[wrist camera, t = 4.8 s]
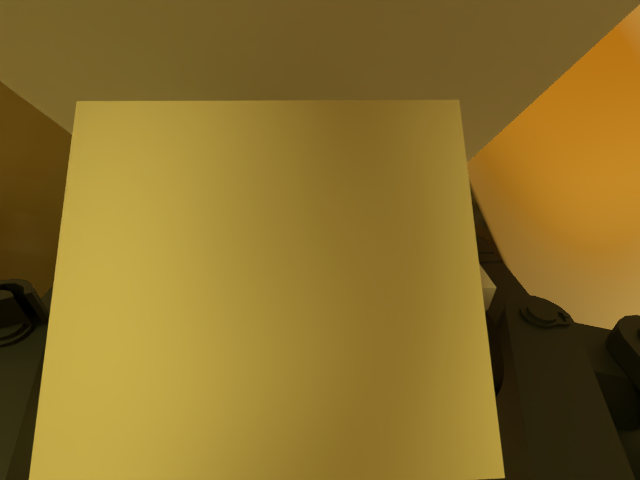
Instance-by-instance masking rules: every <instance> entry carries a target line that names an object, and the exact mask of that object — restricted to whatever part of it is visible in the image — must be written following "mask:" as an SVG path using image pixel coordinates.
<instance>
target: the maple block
mask: <svg viewBox="0 0 640 480" xmlns="http://www.w3.org/2000/svg"><path fill="white" fill-rule="evenodd" d="M498 478H505V474H504V466H503V457H502V449H501V441H500V433H499V424H498V416H497V408H496V400H495V391H494V383H493V375H492V367H491V358H490V350H489V342H488V333H487V325H486V317H485V309H484V300H483V292H482V284H481V276H480V267H479V259H478V251H477V243H476V234H475V226H474V218H473V210H472V201H471V193H470V185H469V176H468V169H467V160H466V152H465V143H464V135H463V127H462V119H461V110H460V102H459V100H257V101H77V102H76V110H75V118H74V126H73V134H72V142H71V150H70V157H69V165H68V173H67V181H66V189H65V197H64V205H63V213H62V221H61V229H60V237H59V245H58V253H57V260H56V268H55V276H54V284H53V292H52V300H51V308H50V316H49V324H48V332H47V340H46V348H45V356H44V363H43V371H42V379H41V387H40V395H39V403H38V411H37V419H36V427H35V435H34V443H33V451H32V458H31V466H30V474H29V480H478V479H498Z"/></svg>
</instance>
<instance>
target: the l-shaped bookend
mask: <svg viewBox="0 0 640 480" xmlns="http://www.w3.org/2000/svg"><path fill="white" fill-rule="evenodd" d="M639 4H640V0H0V82H2V83H3V84H5V85H6V86H7V87H9V88H10V89H11V90H13V91H14V92H15V93H17V94H18V95H19V96H21V97H22V98H23V99H25V100H26V101H27V102H29V103H30V104H32V105H33V106H34V107H36V108H37V109H38V110H40V111H41V112H42V113H44V114H45V115H46V116H48V117H49V118H50V119H52V120H53V121H55V122H56V123H57V124H59V125H60V126H61V127H63V128H64V129H65V130H67V131H68V132H69V133H71V134H73V126H74V118H75V110H76V102H77V101H257V100H459V102H460V110H461V119H462V127H463V135H464V143H465V152H466V160H467V162H468V161H469V160H470V159H471V158H472V157H474V156H475V155H476V154H477V153H478V152H479V151H480V150H481V149H482V148H483V147H484V146H485V145H487V144H488V143H489V142H490V141H491V140H492V139H493V138H494V137H495V136H496V135H498V134H499V133H500V132H501V131H502V130H503V129H504V128H505V127H506V126H507V125H508V124H510V123H511V122H512V121H513V120H514V119H515V118H516V117H517V116H518V115H519V114H520V113H521V112H523V111H524V110H525V109H526V108H527V107H528V106H529V105H530V104H531V103H532V102H533V101H535V100H536V98H538V97H539V96H540V95H541V94H542V93H543V92H544V91H545V90H547V89H548V88H549V87H550V86H551V85H552V84H553V83H554V82H555V81H556V80H557V79H558V78H560V76H562V75H563V74H564V73H565V72H566V71H567V70H568V69H569V68H571V67H572V66H573V64H575V63H576V62H577V61H578V60H579V59H580V58H581V57H583V56H584V55H585V54H586V53H587V52H588V51H589V50H590V49H591V48H592V47H593V46H595V45H596V44H597V43H598V42H599V41H600V40H601V39H602V38H603V37H604V36H605V35H607V34H608V33H609V32H610V31H611V30H612V29H613V28H614V27H615V26H616V25H617V24H618V23H620V22H621V21H622V20H623V19H624V18H625V17H626V16H627V15H628V14H629V13H631V11H633V10H634V9H635V8H636V7H637V6H638V5H639Z"/></svg>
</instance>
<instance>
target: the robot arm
mask: <svg viewBox="0 0 640 480" xmlns="http://www.w3.org/2000/svg"><path fill="white" fill-rule="evenodd" d="M476 243H477V251H478V259H479V267H480V276H481V284H482V292H483V300H484V309H485V317H486V325H487V333H488V342H489V350H490V358H491V367H492V375H493V383H494V391H495V400H496V408H497V416H498V424H499V433H500V441H501V449H502V457H503V466H504V474H505V478H498V479H478V480H640V316H638V315H632V316H625V317H623V318H622V319H620V320H619V321H618V322H617V324H616V325H615V327H614V328H613V330H609V329H604V328H599V327H594V326H589V325H584V324H579V323H575V322H574V321H573V319H572V318H571V316H570V315H569V314H568V313H567V312H565V311H564V310H563V309H562V308H561V307H559V306H558V305H556V304H554V303H552V302H550V301H548V300H546V299H543V298H539V297H536V296H530V295H529V294H528V293H527V292H526V290H525V289H524V288H523V287H522V285H521V284H520V283H519V282H518V280H517V279H516V278H515V277H514V275H513V274H512V273H511V272H510V270H509V269H508V268H507V267H506V266H505V264H502V261H501V259H500V258H499V257H498V256H497V254H494V251H493V250H492V248H491V247H490V246H489V245H488V243H487V242H486V241H485V240H483V239H482V238H480V237H479V236H477V235H476ZM52 292H53V286H52V287H51V288H50V289H49V290H48V292H47V293H46V294H45V295H44V296H43V297H42V298H41V299H40V297H39V296H38V294H37V292H36V291H35V289H34V287H33V286H32V285H31V284H30V283H29V282H27V281H26V280H19V279H10V280H1V281H0V480H29V474H30V466H31V458H32V451H33V443H34V435H35V427H36V419H37V411H38V403H39V395H40V387H41V379H42V371H43V363H44V356H45V348H46V340H47V332H48V324H49V316H50V308H51V300H52Z"/></svg>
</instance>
